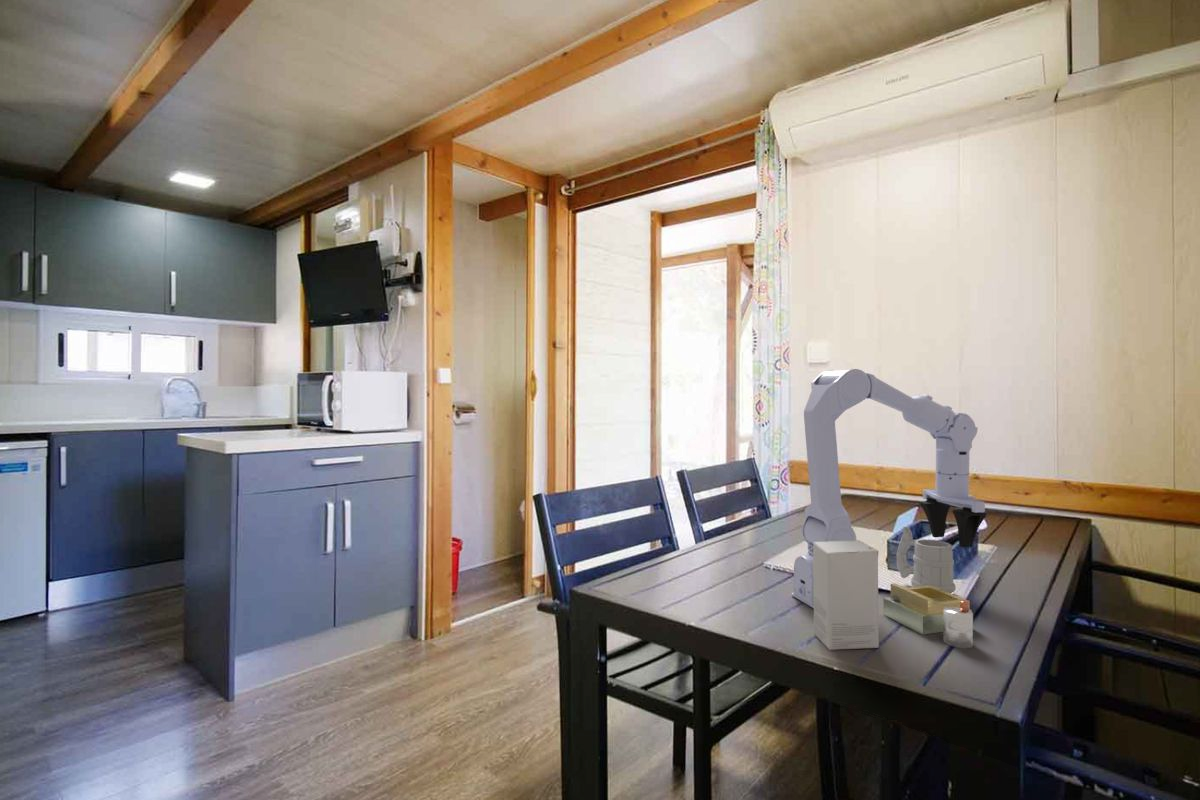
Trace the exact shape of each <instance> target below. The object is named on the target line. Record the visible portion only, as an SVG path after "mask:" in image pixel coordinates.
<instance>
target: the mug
mask: <svg viewBox="0 0 1200 800" xmlns="http://www.w3.org/2000/svg"><path fill="white" fill-rule="evenodd" d="M902 530H903V531H902V534H901V538H900V542H899V543H898V547H897V552H896V554H895V555H896V568H897V571H899V574H900V576H901V578H902V579H906V578H908V577H909V576H910V575H913V577H912V578H911V581H910V582H911V583H910V584H911V587H917V586H927V585H931V586H933V587H936V588H938V589H941V590H943V591H946V592H948V593H952V592H954V593H955V591H956V584H955V582H954V568H953V567H954V565H955V559H954V558H953V545H952V544H951V543H949V542H948V541H944V540H937V539H928V538H927V539H925V538H924V539H923V538H922V539H914V537H913V532H912V530H911V528H910V527H909V526H908V525H905V526H903V527H902ZM912 546H913V547H914V553H913V555H912V560H913V565H912V566H911V565H910V564H909V562H908V561H907V551H908V549H909V548H910V547H912Z"/></svg>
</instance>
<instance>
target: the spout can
mask: <svg viewBox="0 0 1200 800" xmlns="http://www.w3.org/2000/svg"><path fill="white" fill-rule="evenodd" d="M968 601H969V600H968ZM968 601H965V600H960V608H958V607H946V608H944V619H943V632H942V634H943V640H942V641H943V642H944V643H945V644H947V645H948V646H950V647H954V648H958V649H970V648H973V646H974V645H973V643H974V640H973V639H974V638H973V636H974V632H973V631H974V627H973V626H974V613H973V611H972V612H971V611H969V602H968Z"/></svg>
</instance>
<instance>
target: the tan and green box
mask: <svg viewBox="0 0 1200 800" xmlns="http://www.w3.org/2000/svg"><path fill="white" fill-rule="evenodd" d="M960 600H965V601H968V602H969V611H971V612H972V613H973V610H972V609H971V606H970V604H971V601H970V600H968V599H966V598H963V597H960V596H958V595H955V594H954V595H953V594H951V593H948V592H946V591H943V590H941V589H938V588H936V587H933V586H931V585H927V586H917V587H913V586H910V587H904V586H903V585H901V584H898V583H896V582H895V583H890V597H889V596H888V597H883V615H884V616H886V617H887V618H888V619H889V618H890V619H892V620H894V621H896V622H897V623H900V624H901V625H903V626H905V627H907V628H909V629H911V630H913V631H915V632H917V633H919V634H921V635H931V634H936V633H943V619H944V608H946V607H958V608H960Z"/></svg>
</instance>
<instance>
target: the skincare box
mask: <svg viewBox="0 0 1200 800" xmlns="http://www.w3.org/2000/svg"><path fill="white" fill-rule="evenodd" d="M813 574H814V608H813V634H814V635H815V637H816V638H817V639H819V640H820V641H821V643H822V644H823V645H824V646H825V647H826V648H827V649H828V650H829V651H833V650H835V651H836V650H837V651H838V650H856V649H858V650H860V649H879V648H880V647H879V646H880V643H879V642H880V641H879V639H880V637H879V636H880V635H879V550H878V549H876V548H875V547H873V546H871V545H869V544H867V543H865V542H864V541H862V540H860V539H859V540H858V539H856V540H853V541H830V542H813Z"/></svg>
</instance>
